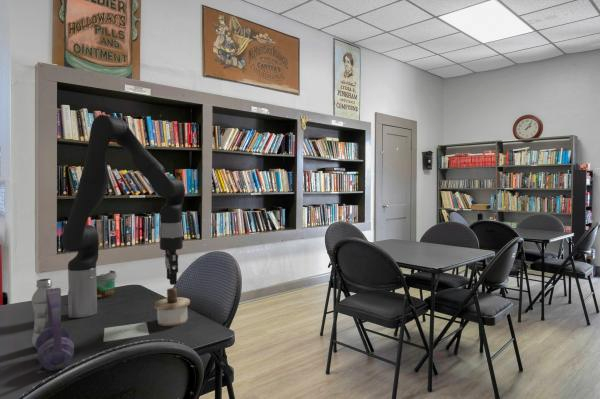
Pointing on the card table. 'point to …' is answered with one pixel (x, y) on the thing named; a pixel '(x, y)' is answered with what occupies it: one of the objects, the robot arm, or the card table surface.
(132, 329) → the mat
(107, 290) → the food container
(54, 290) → the headphones
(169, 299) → the lid
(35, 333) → the plastic bottle
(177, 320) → the cup
